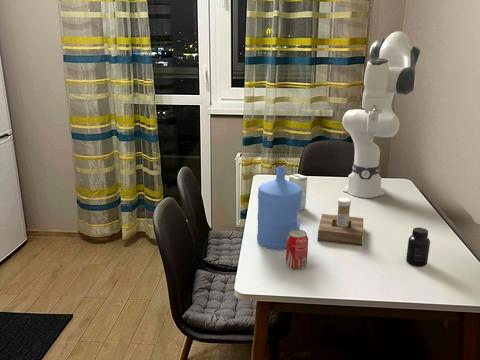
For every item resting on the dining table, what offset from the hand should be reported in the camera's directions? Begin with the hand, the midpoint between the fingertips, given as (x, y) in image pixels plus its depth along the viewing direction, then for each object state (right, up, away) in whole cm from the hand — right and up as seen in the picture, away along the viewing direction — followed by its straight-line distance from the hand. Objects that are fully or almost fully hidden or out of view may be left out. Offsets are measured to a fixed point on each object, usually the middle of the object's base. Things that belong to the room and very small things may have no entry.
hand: (370, 139), depth 185 cm
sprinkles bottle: (-11, -36, -2) cm, 37 cm away
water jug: (-36, -38, -7) cm, 53 cm away
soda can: (-31, -44, -25) cm, 60 cm away
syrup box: (-25, -28, +25) cm, 45 cm away
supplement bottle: (+10, -44, -22) cm, 50 cm away
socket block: (-12, -36, -1) cm, 38 cm away
